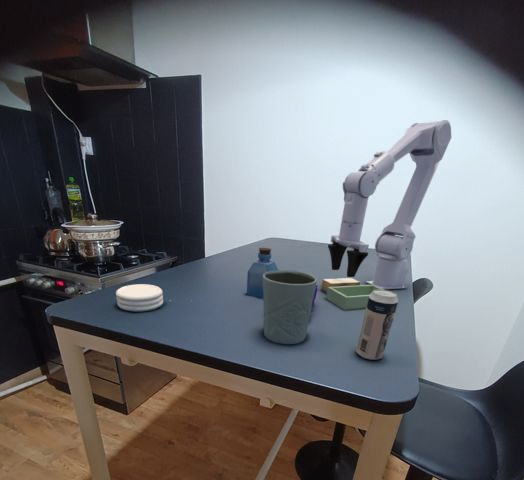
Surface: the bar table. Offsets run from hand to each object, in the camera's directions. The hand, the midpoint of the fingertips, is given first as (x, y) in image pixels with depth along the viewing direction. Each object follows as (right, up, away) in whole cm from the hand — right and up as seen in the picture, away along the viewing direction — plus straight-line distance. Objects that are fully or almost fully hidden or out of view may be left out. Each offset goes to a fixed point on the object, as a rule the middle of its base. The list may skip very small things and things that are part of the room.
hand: (342, 273), depth 91 cm
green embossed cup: (-19, -19, -26) cm, 37 cm away
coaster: (-51, -12, -17) cm, 55 cm away
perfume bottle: (-23, -7, -4) cm, 25 cm away
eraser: (0, -5, +3) cm, 6 cm away
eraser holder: (+3, -9, -5) cm, 11 cm away
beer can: (-3, -23, -32) cm, 39 cm away
